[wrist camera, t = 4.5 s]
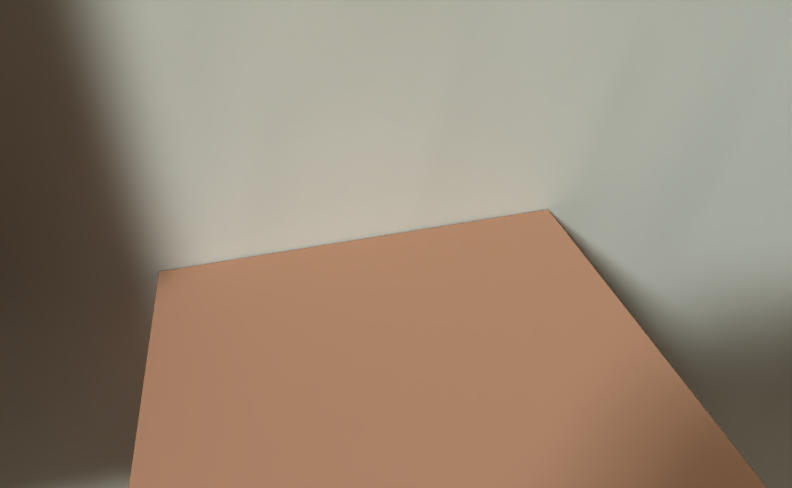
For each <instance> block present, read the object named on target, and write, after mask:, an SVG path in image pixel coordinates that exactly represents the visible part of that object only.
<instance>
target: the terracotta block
mask: <svg viewBox="0 0 792 488" xmlns="http://www.w3.org/2000/svg"><path fill="white" fill-rule="evenodd" d="M129 488H767V487H766V486H765V485H764V483H763V482H762V481H761V480H760V478H759V477H758V476H757V475H756V473H755V472H754V471H753V469H752V468H751V467H750V466H749V464H748V463H747V462H746V461H745V459H744V458H743V457H742V455H741V454H740V453H739V452H738V450H737V449H736V448H735V447H734V445H733V444H732V443H731V441H730V440H729V439H728V438H727V436H726V435H725V434H724V433H723V431H722V430H721V429H720V427H719V426H718V425H717V424H716V422H715V421H714V420H713V419H712V417H711V416H710V415H709V413H708V412H707V411H706V410H705V408H704V407H703V406H702V405H701V403H700V402H699V401H698V399H697V398H696V397H695V396H694V394H693V393H692V392H691V391H690V389H689V388H688V387H687V385H686V384H685V383H684V382H683V380H682V379H681V378H680V377H679V375H678V374H677V373H676V371H675V370H674V369H673V368H672V366H671V365H670V364H669V363H668V361H667V360H666V359H665V358H664V356H663V355H662V354H661V352H660V351H659V350H658V349H657V347H656V346H655V345H654V344H653V342H652V341H651V340H650V338H649V337H648V336H647V335H646V333H645V332H644V331H643V330H642V328H641V327H640V326H639V324H638V323H637V322H636V321H635V319H634V318H633V317H632V316H631V314H630V313H629V312H628V310H627V309H626V308H625V307H624V305H623V304H622V303H621V302H620V300H619V299H618V298H617V296H616V295H615V294H614V293H613V291H612V290H611V289H610V288H609V286H608V285H607V284H606V282H605V281H604V280H603V279H602V277H601V276H600V275H599V274H598V272H597V271H596V270H595V268H594V267H593V266H592V265H591V263H590V262H589V261H588V260H587V258H586V257H585V256H584V254H583V253H582V252H581V251H580V249H579V248H578V247H577V246H576V244H575V243H574V242H573V240H572V239H571V238H570V237H569V235H568V234H567V233H566V232H565V230H564V229H563V228H562V226H561V225H560V224H559V223H558V221H557V220H556V219H555V218H554V216H553V215H552V214H551V212H550V211H549V210H548V209H547V210H541V211H535V212H529V213H522V214H516V215H510V216H504V217H497V218H491V219H485V220H479V221H472V222H466V223H460V224H454V225H447V226H441V227H435V228H429V229H422V230H416V231H410V232H404V233H397V234H391V235H385V236H379V237H372V238H366V239H360V240H354V241H347V242H341V243H335V244H329V245H322V246H316V247H310V248H304V249H297V250H291V251H285V252H279V253H272V254H266V255H260V256H254V257H247V258H241V259H235V260H229V261H222V262H216V263H210V264H204V265H197V266H191V267H185V268H179V269H172V270H166V271H160V272H159V276H158V283H157V290H156V297H155V305H154V312H153V319H152V326H151V333H150V340H149V347H148V354H147V362H146V369H145V376H144V383H143V390H142V397H141V404H140V411H139V419H138V426H137V433H136V440H135V447H134V454H133V461H132V468H131V475H130V483H129Z"/></svg>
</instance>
